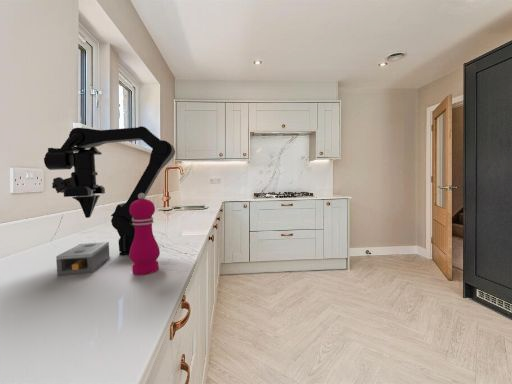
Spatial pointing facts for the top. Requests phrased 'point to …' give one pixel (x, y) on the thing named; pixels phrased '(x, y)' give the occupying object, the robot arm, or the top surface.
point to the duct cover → (83, 250)
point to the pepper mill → (143, 237)
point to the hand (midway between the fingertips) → (88, 217)
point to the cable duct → (82, 263)
